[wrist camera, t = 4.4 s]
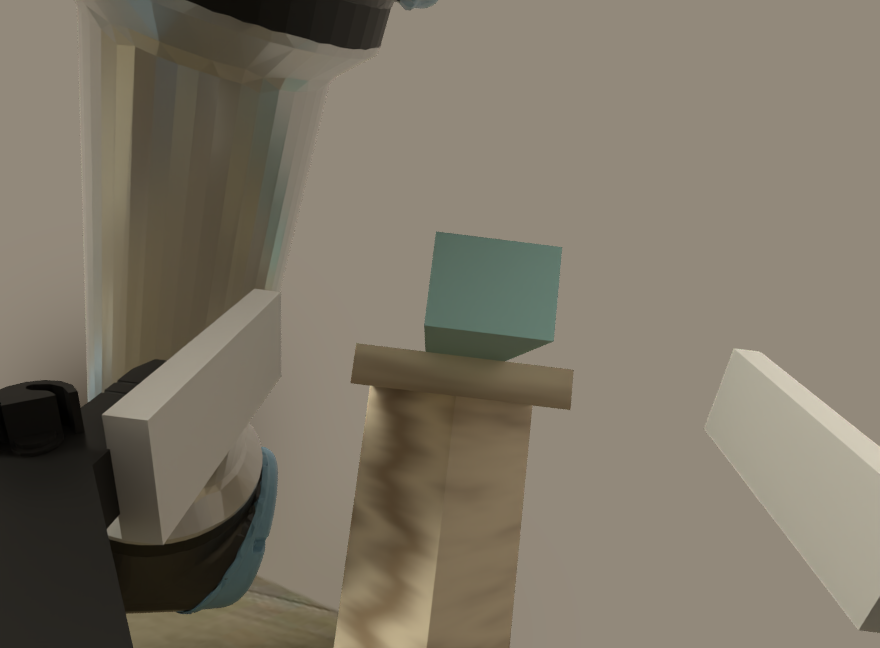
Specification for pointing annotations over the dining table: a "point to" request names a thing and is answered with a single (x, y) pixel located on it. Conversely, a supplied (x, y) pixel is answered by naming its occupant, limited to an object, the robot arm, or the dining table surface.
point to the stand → (439, 498)
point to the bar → (491, 297)
